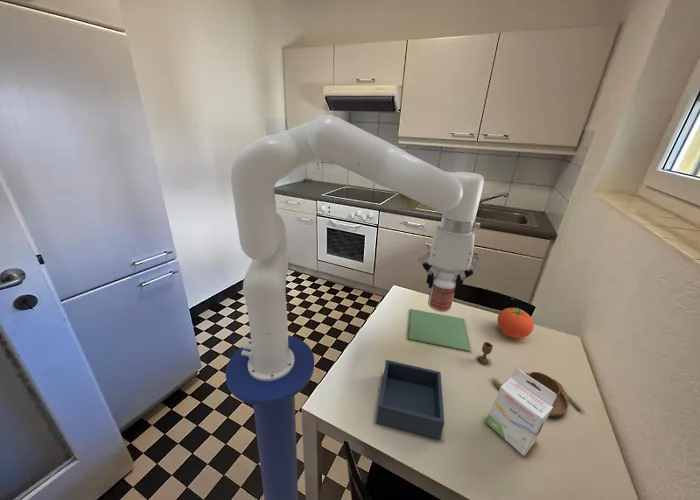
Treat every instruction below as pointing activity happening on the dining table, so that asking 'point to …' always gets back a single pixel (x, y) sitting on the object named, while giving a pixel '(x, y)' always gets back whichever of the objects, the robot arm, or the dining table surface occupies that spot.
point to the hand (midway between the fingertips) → (442, 287)
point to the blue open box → (411, 400)
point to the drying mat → (438, 330)
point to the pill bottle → (442, 290)
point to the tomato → (515, 322)
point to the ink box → (521, 411)
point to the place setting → (560, 402)
